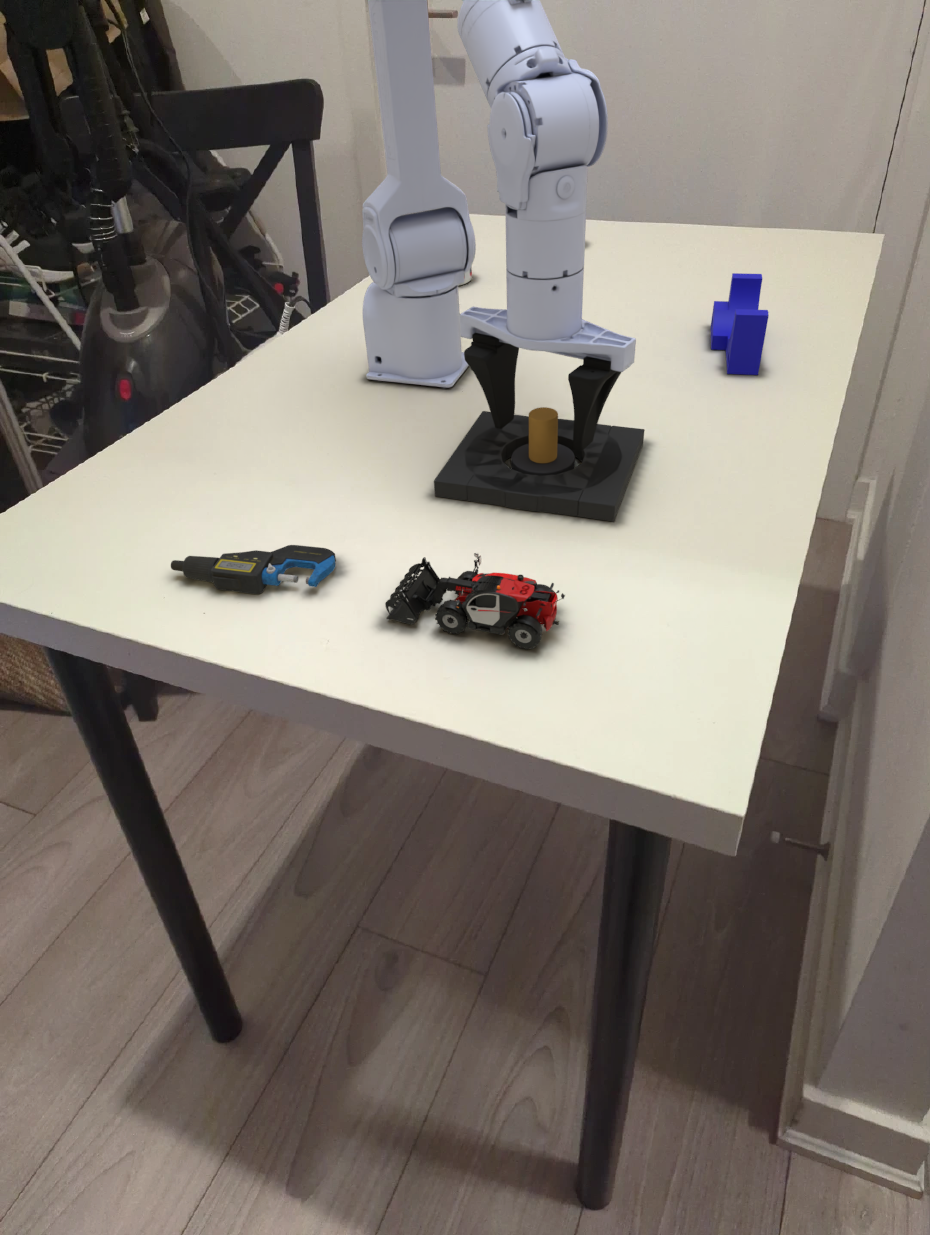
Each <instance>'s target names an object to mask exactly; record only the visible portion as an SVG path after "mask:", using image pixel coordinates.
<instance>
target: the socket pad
mask: <svg viewBox="0 0 930 1235" xmlns="http://www.w3.org/2000/svg"><path fill="white" fill-rule="evenodd" d="M573 429H574V419H566V418H558V438H557V444H561V445H564V446H566V447H568V448H569V449H570V450H571V451H572V452H573V453H574V456H575V459H577V460H579V461H580V462H581V463H580V464H578V465H577V466H575V467H574V469H573V470H570V471H567V472H563V473H560V474H557V475H544V476H538V475H530V474H523V473H520V472H518V471H515V470H513V469H511V467H510V466H508V465H507V464H506V463H505V462H506V461H507V460H508V459H511V456H512V454H513V452H514V451H515V450H516V449H517V448H519V447H521V446H523V445H526V444H529V415H522V414H521V415H520V414H514V419H513V420H512V421H511V422H510V423H508V424H507V425H506V426H504V427H503V428H502V429H499V428H495V425H494V422H493V418H492V415H491V412H490V411H486V410H483V411H481V413H480V414H479V416H477V418H476V419H475V421H474V423H473V424H472V426H471V427H470V428H469V430H468V431H467V433H465V436H464V437H463V439H462V440H461V441H460V442H459V444H458V446H457V447H456V449H455V450H454V451H453V452H452V454H451V455H450V457H449V458H448V460H447V461H446V462H445V464H444V466H443V467H442V468H441V470H440V471H439V472H438V474H437V476H436V477H435V479H433V487H434V488H433V489H434V497H439V498H444V499H453V500H459V501H466V502H467V501H468V502H473V503H479V504H485V505H493V506H500V507H504V508H508V509H509V508H510V509H514V510H515V509H517V510H522V511H529V512H537V513H538V512H540V513H547V514H548V513H551V514H556V515H564V516H571V517H579V518H587V519H593V520H599V521H607V522H615V520H616V517H617V514H618V512H619V509H620V506H621V504H622V501H623V498H624V497H625V494H626V490H627V488H628V486H629V482H630V480H631V478H632V475H633V472H634V470H635V466H636V463H637V461H638V459H639V456H640V453H641V452H642V449H643V445H644V440H645V439H644V438H645V429H644V428H639V427H638V428H637V427H630V426H629V427H628V426H619V425H610V424H601V423H597V427H596V430H595V434H594V438H593V441H592V442H591V443H590V444H589V445H588V446H587V447H586V448H585V449H583V450H577V449H574V443H573Z"/></svg>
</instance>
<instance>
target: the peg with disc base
mask: <svg viewBox="0 0 930 1235" xmlns="http://www.w3.org/2000/svg"><path fill="white" fill-rule="evenodd" d="M528 416H529V444H526V445H523V446H521V447H519V448H517V449H516V450H515V451H514V452H513V454H512V456H511V457H510V469H513V470H515V471H518V472H520V473H523V474H530V475H538V476H544V475H557V474H560V473H563V472H567V471H570V470H573V469H574V468H575V463H576V462H575V461H576V457H575V456H574V453H573V452H572V451H571V450H570V449H569V448H568V447H566V446H564V445H561V444H557V438H558V419H559V413H558V411H557V410H556V409H555V408H552V407H547V406H546V407H542V406H541V407H536V408H533V409H532V410H530V411H529V413H528Z"/></svg>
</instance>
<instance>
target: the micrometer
mask: <svg viewBox="0 0 930 1235" xmlns="http://www.w3.org/2000/svg"><path fill="white" fill-rule="evenodd" d="M336 562H337V558H336V553H335V551H333V550H331V549H329V548H326V547H319V546H309V545H301V544H289V545H285V546H283V547H280V548H277V549H275V550H272V551H266V550H249V551H242V552H241V551H240V552H227V553H222V554H221V555H220V557H215V556H199V555H187V556H186V557H185V558H184V559H183V560H179V559H173V560H171V563H170V569H171V570H173V571H177V572H182V574H183V576H184V577H185V578H186V579H190V580H195V581H202V582H207V583H211V584H212V583H213V586H215V589H216V590H219V591H226V592H227V591H229V592H236V593H244V594H250V595H251V594H253V595H260V594H263V592H264V591H265V589H266V588H267V586H274V587H275V586H276V587H278V586H280V585H281V583H282V582H287V583H294V584H295V583H296V584H298V582H299V576H298V575H294V574H293V575H292V574H285V572H286V571H287V570H289V569H292V568H299V569H309V570H313V571H312V573H311V575H310V576H307V577H305V584H306V585H307V586H308V587H313V588H317V587H318V585H319V584H320V583H321V581H323V580H324V579H325V578H327V577H328V576H329V575H330V574H332V573H333V572H334V570H336V564H337V563H336Z"/></svg>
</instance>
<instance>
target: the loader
mask: <svg viewBox="0 0 930 1235" xmlns="http://www.w3.org/2000/svg"><path fill="white" fill-rule="evenodd" d="M473 556H474V557H475V558H476V559H473V563H474V567H473V570H465V571H463V572H462V573H461V574H460V575H459V576H457V578H455V577H451V576H448V577H442V576H441V577H439V575H438V574H437V572H436V571H435V570H434V568H433V567H432V565H431V562H430V561H427V558H426V556H424V557H423V558H422V559H421V563H419V562H418V563H415V564H413V565H412V566H410V567H409V568H408V572H406V573H405V574H404V577H403V579H401V580H400V582H399V584H398V586H396V587H395V589H394V592H392V593H391V594H390V597H389V599H387V600H386V602H385V609H386V611H387V613H388V615H387V617H386V620H389V621H392V620H393V621H396V622H400V623H402V624H407V625H414V624H415V623H416V622H417V621H418V620H419V617H420V614H421V613H422V612H428V611H430V610H431V607H432V606H433V607H436V605H440V604H441V603H442V602H443V603H442V604H441V605H440V606H439V607H438V608H437V610H436V613H435V618H434V621H436V625H438V628H439V629H442V631H443V632H447V633H448V634H452V635H456V634H460V633H462V632H463V631H465V629H466V628H467V626H468V629H471V630H476V631H479V632H486V633H490V634H495V635H501V636H502V635H504V634H506V631H508V632H507V634H506V635H508V640H510V641H511V644H514V645H515V647H519V649H525V650H533V649H534V648H536V647H537V646H538V645H539V644H540V642H541V641H542V636H543V634H542V632H543V628H544V629H545V632H546V633H547V632H548V631H550V629H551V628H552V627H553V626H554V625H555V626H559V624H560V620H556V617H557V613H558V605H557V604H558V601H561V600H564V599H565V597H566V594H564V593H563V592H562V593H561V595H560V599H559V596H558V594H559V593H560V590H557V591H556V592H555V590H554V589H553V588H554V585H555V583H554V582H551V584H550V586H549V585H546V584H542V583H538V582H537V581H536V579H532V578H530V577H526V576H524V574H512V573H505V572H490V573H489V572H487V573H484V572H480V573H479V568H480V566H481V564H482V555H479V553H477V552H474V553H473ZM422 568H423V569H422ZM447 592H454V594H455V595H457V597H456V598H455V599H454V600H453V599H451V598H450V599H448V600H444V599H443V597H444V595H445V594H446V593H447ZM389 608H391V609H392V610H391V611H390V609H389ZM525 609H526V610H525ZM542 625H543V627H542Z"/></svg>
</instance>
